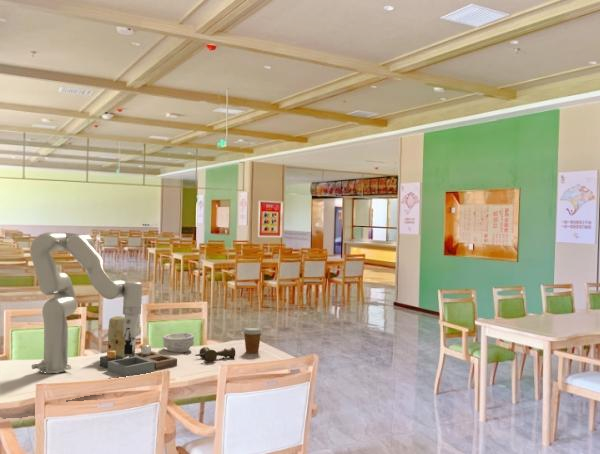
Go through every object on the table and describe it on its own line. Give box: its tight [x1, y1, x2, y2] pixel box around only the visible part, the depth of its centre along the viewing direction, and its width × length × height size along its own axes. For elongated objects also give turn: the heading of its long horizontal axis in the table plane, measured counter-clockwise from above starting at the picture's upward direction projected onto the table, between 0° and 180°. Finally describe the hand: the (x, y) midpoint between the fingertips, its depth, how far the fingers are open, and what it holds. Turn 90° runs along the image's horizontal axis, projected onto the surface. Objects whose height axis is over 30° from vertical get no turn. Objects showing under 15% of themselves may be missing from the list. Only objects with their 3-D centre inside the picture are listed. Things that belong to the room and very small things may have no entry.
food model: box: [107, 315, 128, 358], centre depth 260 cm, size 10×7×20 cm
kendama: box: [194, 346, 236, 363], centre depth 264 cm, size 6×10×20 cm
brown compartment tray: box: [128, 350, 178, 371], centre depth 250 cm, size 22×11×4 cm, turn 48°
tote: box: [107, 356, 155, 377], centre depth 236 cm, size 14×14×5 cm
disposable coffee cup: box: [243, 326, 263, 354], centre depth 280 cm, size 10×10×12 cm
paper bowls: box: [162, 332, 195, 354], centre depth 279 cm, size 15×15×8 cm
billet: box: [124, 337, 137, 357], centre depth 236 cm, size 4×4×7 cm
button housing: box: [99, 355, 123, 370], centre depth 243 cm, size 7×7×5 cm
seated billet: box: [140, 344, 152, 357], centre depth 254 cm, size 4×4×7 cm
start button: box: [106, 350, 116, 359], centre depth 243 cm, size 4×4×4 cm
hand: (129, 352), depth 236 cm, fingers closed on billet, 4 cm apart
